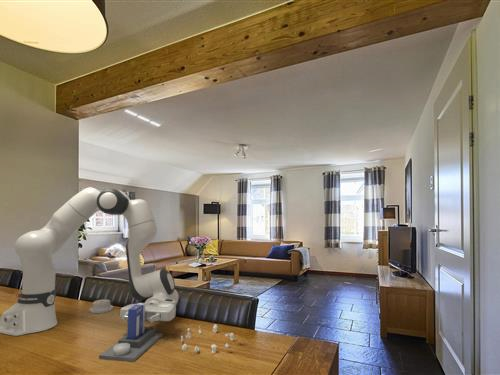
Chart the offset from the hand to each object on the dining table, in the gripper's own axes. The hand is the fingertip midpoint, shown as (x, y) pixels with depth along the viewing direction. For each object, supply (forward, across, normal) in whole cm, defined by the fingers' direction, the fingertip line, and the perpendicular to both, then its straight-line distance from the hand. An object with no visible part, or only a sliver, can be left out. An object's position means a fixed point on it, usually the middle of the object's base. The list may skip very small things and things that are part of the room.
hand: (137, 319), depth 108 cm
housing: (+2, 0, +8) cm, 9 cm away
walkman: (-1, -1, +8) cm, 8 cm away
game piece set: (-6, +24, +9) cm, 26 cm away
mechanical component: (-32, -36, +9) cm, 49 cm away
